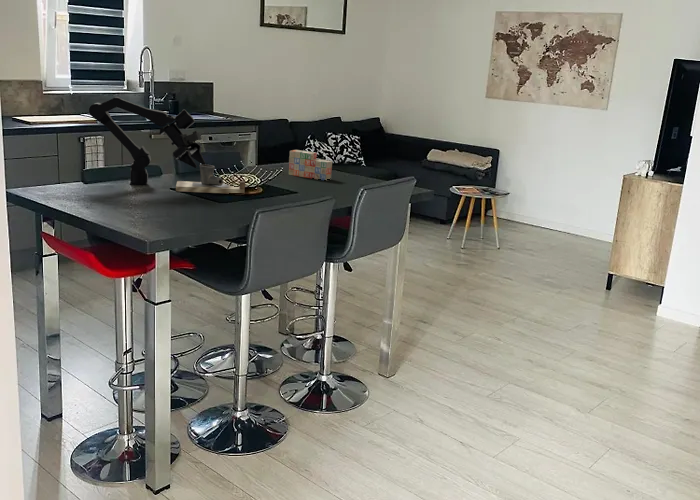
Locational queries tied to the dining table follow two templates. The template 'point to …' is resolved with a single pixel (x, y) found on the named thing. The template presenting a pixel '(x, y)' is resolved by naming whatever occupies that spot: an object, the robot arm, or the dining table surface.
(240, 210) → the dining table surface
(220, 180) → the pipe
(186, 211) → the dining table surface
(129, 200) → the dining table surface
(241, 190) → the roller board
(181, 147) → the robot arm
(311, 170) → the stack of blocks
